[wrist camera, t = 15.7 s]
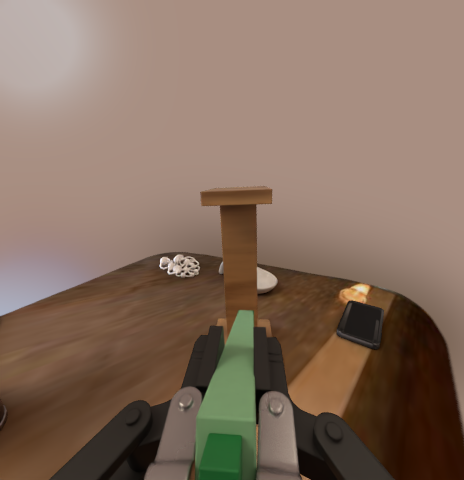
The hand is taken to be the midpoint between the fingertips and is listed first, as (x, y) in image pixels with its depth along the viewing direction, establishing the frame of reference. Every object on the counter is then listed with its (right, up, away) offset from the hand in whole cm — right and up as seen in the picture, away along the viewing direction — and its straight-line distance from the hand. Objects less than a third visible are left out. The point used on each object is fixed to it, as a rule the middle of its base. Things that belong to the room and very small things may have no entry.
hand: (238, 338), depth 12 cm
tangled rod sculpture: (-20, -6, +73) cm, 76 cm away
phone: (+30, -14, +37) cm, 50 cm away
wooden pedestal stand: (+2, -16, +32) cm, 36 cm away
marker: (0, -3, +4) cm, 5 cm away
